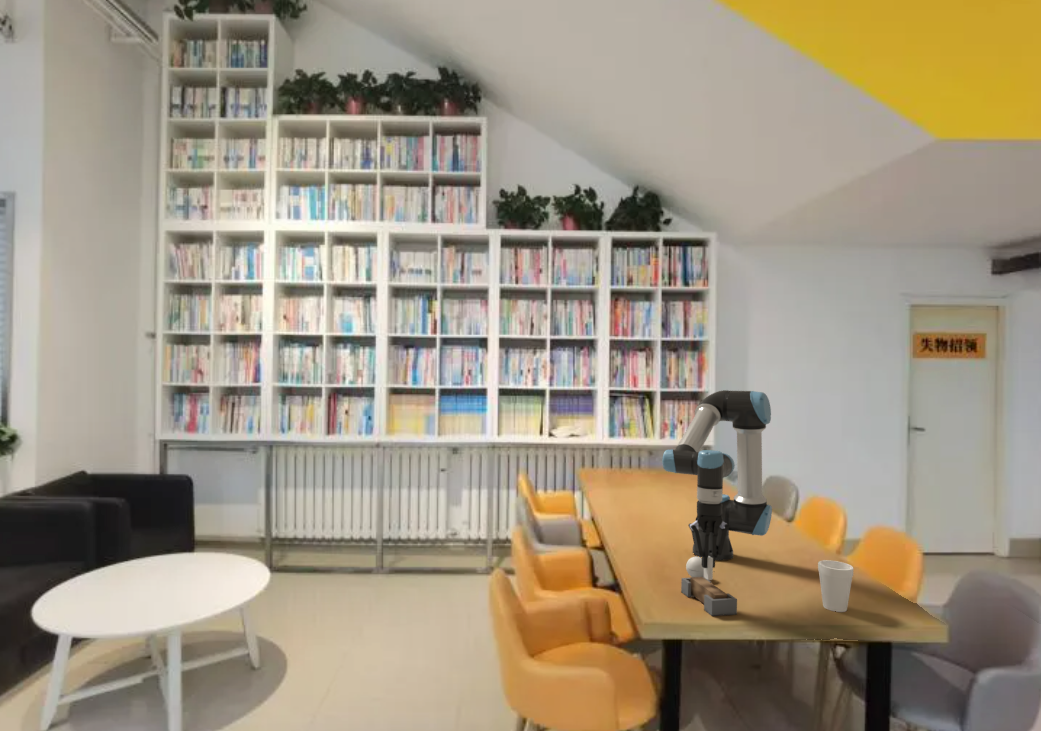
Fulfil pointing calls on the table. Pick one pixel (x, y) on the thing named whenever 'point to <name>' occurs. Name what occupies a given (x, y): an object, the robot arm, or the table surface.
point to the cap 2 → (720, 605)
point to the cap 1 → (687, 586)
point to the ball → (695, 567)
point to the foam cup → (835, 584)
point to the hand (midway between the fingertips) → (708, 578)
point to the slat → (705, 589)
